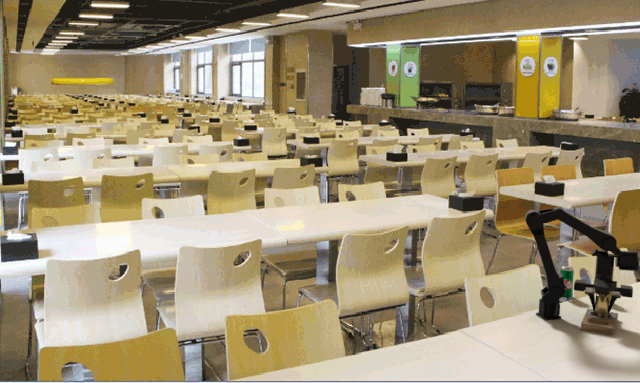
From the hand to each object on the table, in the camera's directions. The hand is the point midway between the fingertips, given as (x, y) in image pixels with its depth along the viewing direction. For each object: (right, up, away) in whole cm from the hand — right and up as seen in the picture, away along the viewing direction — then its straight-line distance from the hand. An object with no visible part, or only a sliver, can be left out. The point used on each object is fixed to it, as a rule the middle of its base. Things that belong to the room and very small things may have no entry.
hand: (601, 311), depth 226 cm
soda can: (-1, 0, +30) cm, 30 cm away
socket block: (-2, -4, -3) cm, 5 cm away
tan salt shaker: (0, -2, 0) cm, 2 cm away
